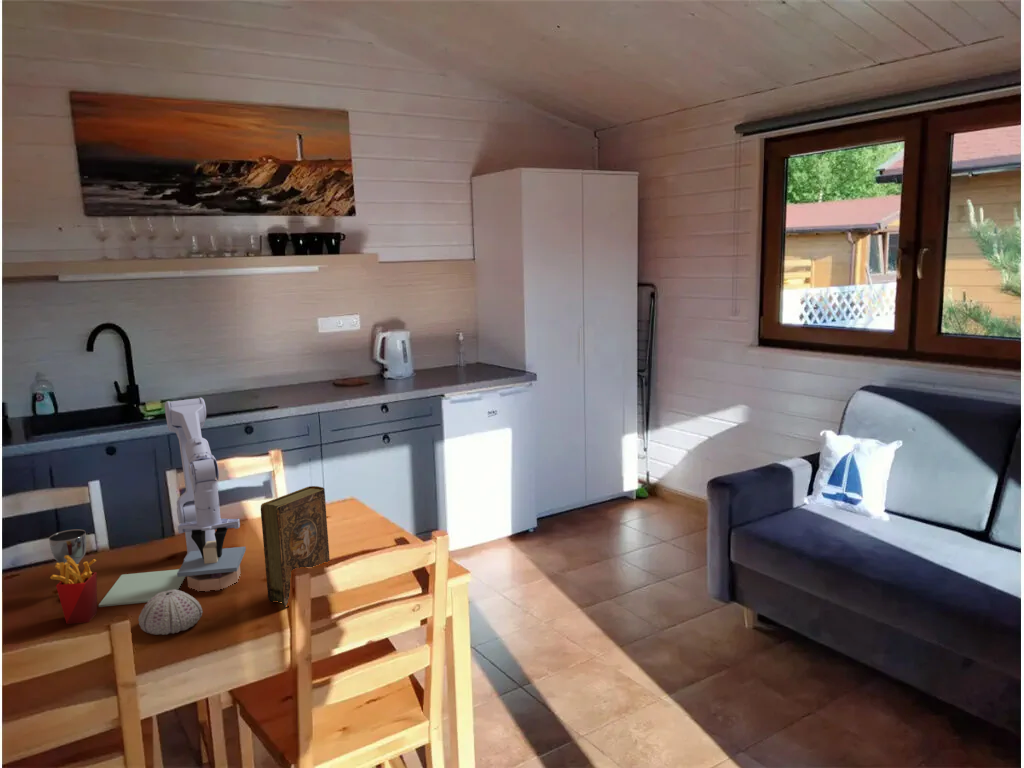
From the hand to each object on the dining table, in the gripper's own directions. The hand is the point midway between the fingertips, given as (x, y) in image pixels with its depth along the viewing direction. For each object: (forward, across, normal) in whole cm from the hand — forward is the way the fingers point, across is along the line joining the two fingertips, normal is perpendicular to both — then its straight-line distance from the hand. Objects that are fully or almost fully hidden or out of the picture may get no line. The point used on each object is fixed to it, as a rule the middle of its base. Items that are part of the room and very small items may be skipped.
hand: (212, 556), depth 199 cm
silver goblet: (+7, -34, +2) cm, 35 cm away
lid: (+2, 0, 0) cm, 2 cm away
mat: (+7, -16, 0) cm, 18 cm away
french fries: (+7, -28, -15) cm, 33 cm away
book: (+7, +23, -13) cm, 27 cm away
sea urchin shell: (+7, -5, -23) cm, 25 cm away
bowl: (+7, 0, 0) cm, 7 cm away
